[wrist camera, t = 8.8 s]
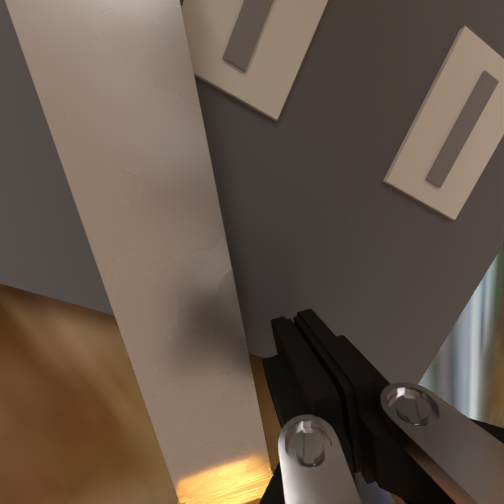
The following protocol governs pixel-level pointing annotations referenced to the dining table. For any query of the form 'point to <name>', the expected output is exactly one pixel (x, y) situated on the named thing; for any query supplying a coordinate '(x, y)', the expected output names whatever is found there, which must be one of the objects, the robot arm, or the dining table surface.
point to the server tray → (308, 167)
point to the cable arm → (153, 227)
